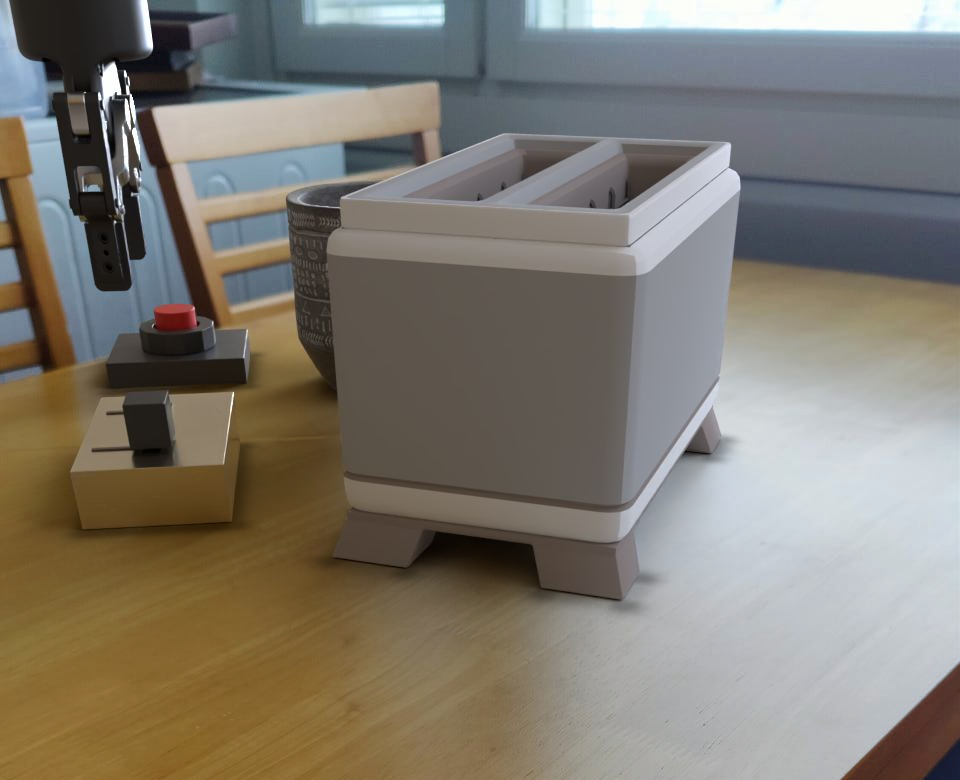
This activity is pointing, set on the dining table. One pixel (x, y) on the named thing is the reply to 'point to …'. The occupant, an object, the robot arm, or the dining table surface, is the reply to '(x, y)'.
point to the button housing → (179, 357)
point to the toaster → (530, 345)
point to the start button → (175, 317)
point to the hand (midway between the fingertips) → (123, 273)
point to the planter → (315, 266)
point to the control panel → (159, 467)
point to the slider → (149, 419)
